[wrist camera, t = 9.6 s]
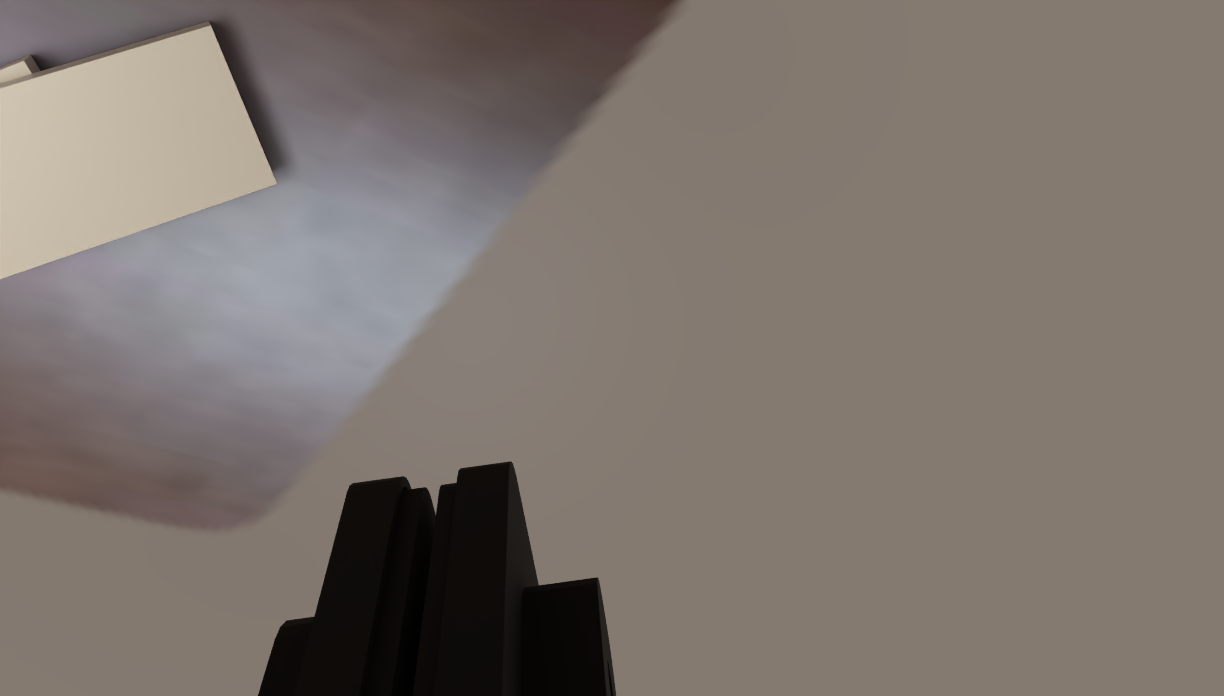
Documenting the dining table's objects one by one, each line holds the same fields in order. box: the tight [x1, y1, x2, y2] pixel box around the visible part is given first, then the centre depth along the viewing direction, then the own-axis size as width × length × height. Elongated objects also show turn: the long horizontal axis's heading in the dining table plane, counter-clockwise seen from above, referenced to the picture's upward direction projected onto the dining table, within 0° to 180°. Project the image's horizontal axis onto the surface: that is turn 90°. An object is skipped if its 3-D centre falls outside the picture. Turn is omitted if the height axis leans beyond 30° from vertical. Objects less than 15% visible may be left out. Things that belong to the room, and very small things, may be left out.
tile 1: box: [0, 21, 277, 279], centre depth 31 cm, size 2×5×10 cm
